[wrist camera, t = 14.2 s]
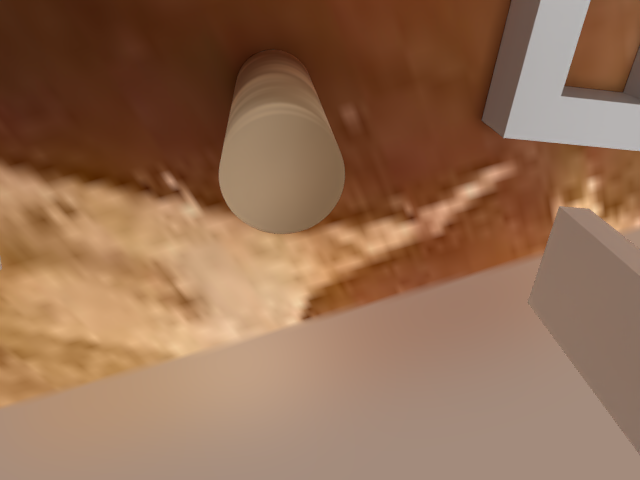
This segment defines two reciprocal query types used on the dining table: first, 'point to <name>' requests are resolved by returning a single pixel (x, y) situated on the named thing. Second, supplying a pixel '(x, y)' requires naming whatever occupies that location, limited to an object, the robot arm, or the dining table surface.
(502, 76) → the socket grey
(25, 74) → the dining table surface
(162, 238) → the dining table surface
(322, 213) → the peg
